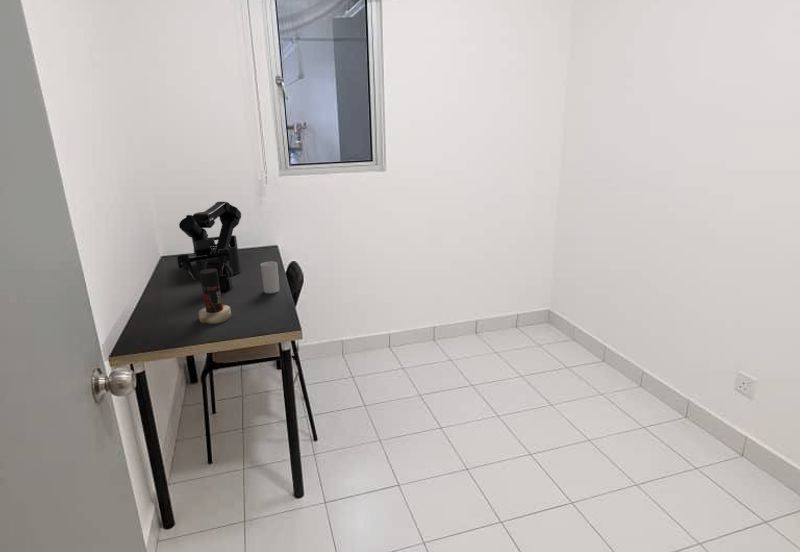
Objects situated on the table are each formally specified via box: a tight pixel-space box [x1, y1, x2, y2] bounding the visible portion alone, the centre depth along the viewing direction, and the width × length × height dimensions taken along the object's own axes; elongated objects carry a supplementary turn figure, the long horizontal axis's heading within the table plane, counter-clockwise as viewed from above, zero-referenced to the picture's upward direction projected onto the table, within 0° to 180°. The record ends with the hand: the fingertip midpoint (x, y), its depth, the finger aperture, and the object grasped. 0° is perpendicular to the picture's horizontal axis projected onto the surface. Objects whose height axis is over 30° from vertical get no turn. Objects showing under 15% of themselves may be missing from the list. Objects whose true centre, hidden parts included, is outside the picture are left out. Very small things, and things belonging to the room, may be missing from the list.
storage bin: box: [193, 234, 242, 279], centre depth 239 cm, size 29×19×13 cm
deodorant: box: [199, 269, 224, 313], centre depth 178 cm, size 6×6×15 cm
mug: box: [260, 261, 280, 294], centre depth 207 cm, size 10×7×12 cm, turn 9°
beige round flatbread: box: [198, 304, 232, 325], centre depth 181 cm, size 11×11×3 cm
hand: (208, 277), depth 183 cm, fingers open, 9 cm apart
